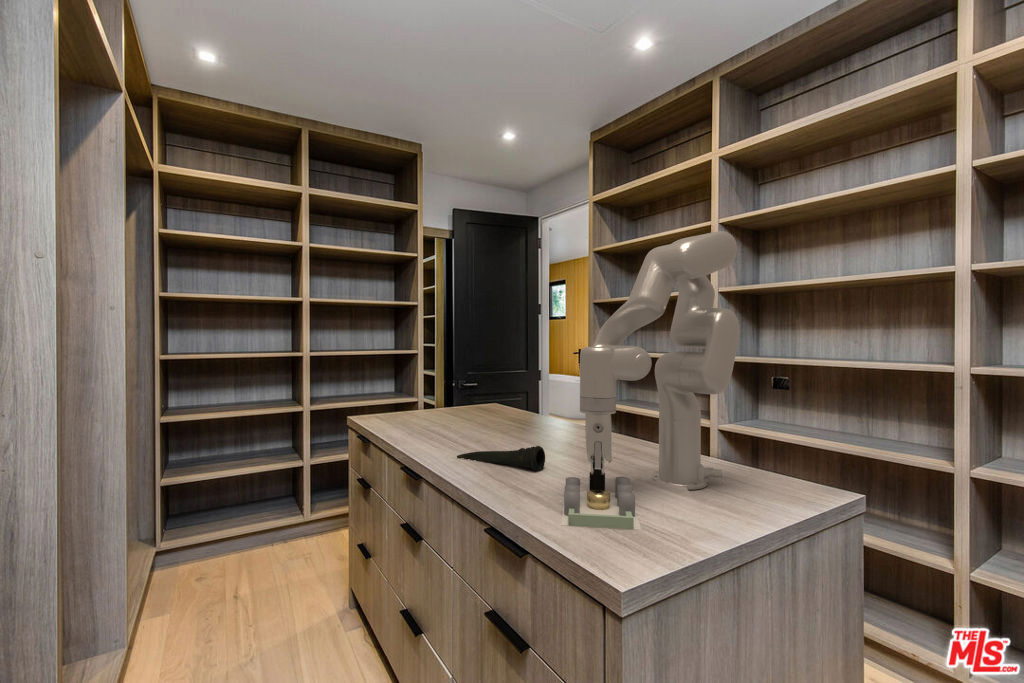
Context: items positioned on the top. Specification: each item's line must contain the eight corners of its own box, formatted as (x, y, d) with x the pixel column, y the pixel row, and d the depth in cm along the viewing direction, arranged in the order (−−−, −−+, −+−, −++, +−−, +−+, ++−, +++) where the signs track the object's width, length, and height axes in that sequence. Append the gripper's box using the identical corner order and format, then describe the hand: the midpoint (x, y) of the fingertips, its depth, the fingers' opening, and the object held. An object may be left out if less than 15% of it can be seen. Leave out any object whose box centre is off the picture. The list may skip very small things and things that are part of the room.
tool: (548, 469, 129) (548, 444, 129) (535, 474, 123) (535, 448, 123) (470, 454, 145) (470, 432, 145) (455, 458, 140) (456, 436, 140)
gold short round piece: (609, 502, 98) (609, 489, 98) (610, 510, 93) (611, 497, 93) (586, 501, 98) (586, 488, 98) (587, 509, 94) (587, 495, 94)
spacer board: (629, 498, 104) (630, 474, 104) (641, 536, 84) (641, 507, 84) (565, 495, 106) (565, 472, 106) (561, 531, 86) (561, 502, 86)
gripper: (618, 410, 93) (617, 505, 93) (613, 401, 108) (613, 482, 108) (579, 409, 94) (578, 503, 94) (580, 400, 109) (579, 481, 109)
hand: (597, 492), depth 101 cm, fingers closed
